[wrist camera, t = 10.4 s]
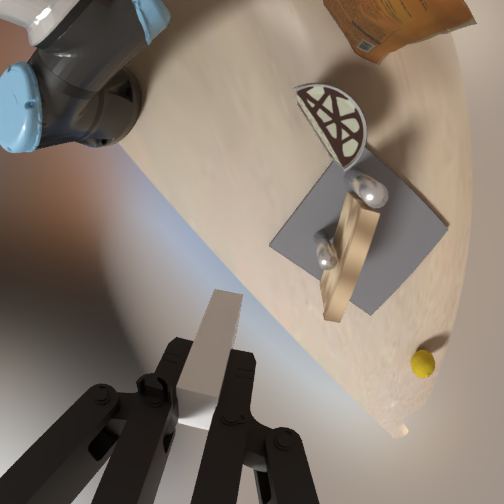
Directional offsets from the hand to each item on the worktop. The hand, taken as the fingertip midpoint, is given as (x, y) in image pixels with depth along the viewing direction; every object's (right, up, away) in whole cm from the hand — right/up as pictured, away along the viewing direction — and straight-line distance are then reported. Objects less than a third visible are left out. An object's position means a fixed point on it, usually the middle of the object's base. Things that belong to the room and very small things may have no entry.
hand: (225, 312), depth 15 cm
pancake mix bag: (+16, +39, +16) cm, 45 cm away
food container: (+13, +23, +24) cm, 35 cm away
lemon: (+39, -19, +39) cm, 59 cm away
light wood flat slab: (+15, +5, +28) cm, 32 cm away
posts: (+15, +11, +29) cm, 34 cm away
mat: (+20, +6, +30) cm, 37 cm away
